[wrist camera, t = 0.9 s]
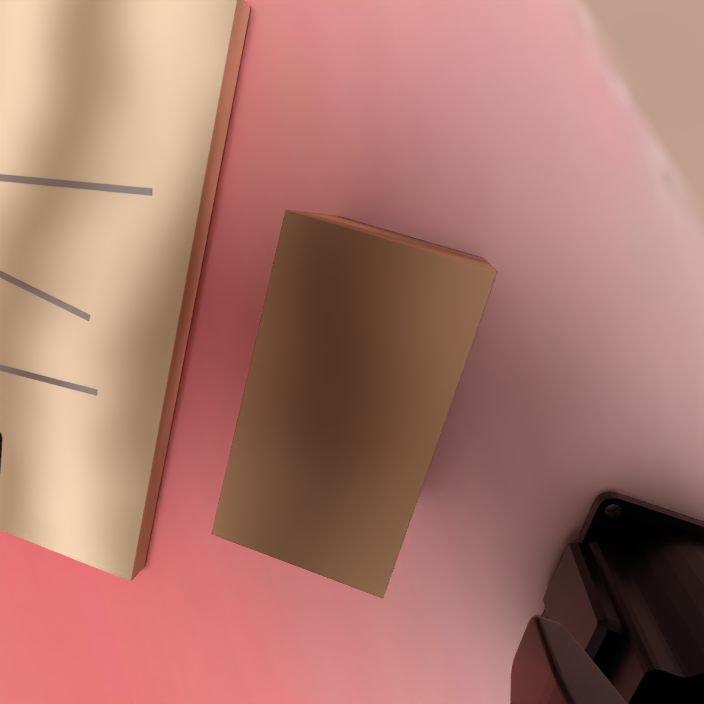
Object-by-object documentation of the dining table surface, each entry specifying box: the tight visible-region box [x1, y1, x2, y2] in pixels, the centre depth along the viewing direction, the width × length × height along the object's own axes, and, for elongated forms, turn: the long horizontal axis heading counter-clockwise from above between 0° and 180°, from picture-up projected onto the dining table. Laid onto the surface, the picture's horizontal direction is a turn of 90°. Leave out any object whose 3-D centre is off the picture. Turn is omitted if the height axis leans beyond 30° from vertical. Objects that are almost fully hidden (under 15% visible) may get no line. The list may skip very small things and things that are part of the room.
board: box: [0, 0, 251, 581], centre depth 20 cm, size 12×22×1 cm, turn 165°
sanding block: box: [212, 210, 498, 598], centre depth 16 cm, size 5×9×6 cm, turn 165°
